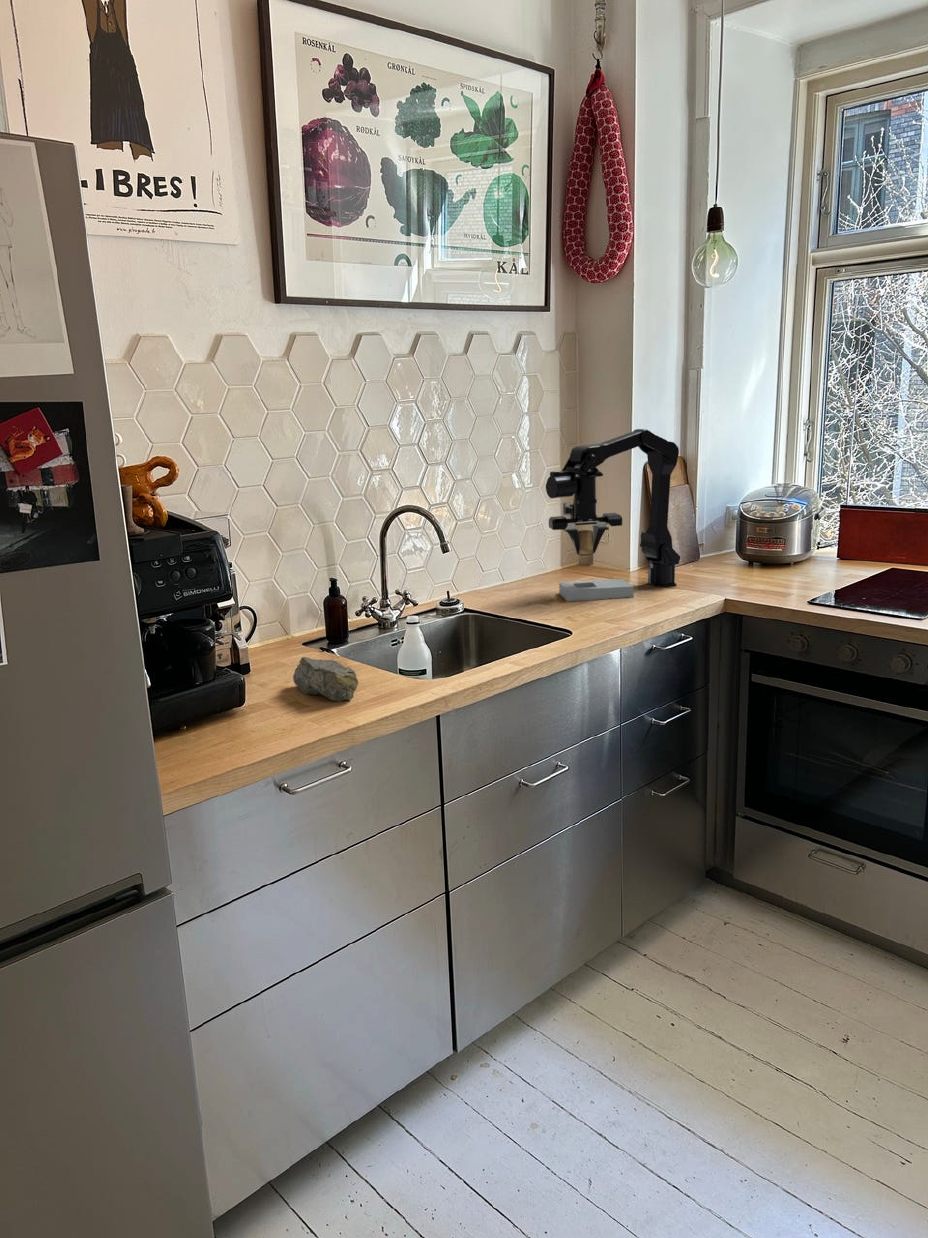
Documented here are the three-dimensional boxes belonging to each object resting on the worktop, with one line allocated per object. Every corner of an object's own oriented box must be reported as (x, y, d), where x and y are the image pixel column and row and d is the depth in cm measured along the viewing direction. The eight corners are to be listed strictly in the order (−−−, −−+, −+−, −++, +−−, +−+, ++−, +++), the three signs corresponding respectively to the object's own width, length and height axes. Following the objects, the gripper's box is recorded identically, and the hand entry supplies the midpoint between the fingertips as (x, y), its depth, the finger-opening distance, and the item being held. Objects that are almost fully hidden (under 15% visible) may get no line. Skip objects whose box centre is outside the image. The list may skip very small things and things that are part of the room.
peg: (591, 562, 240) (591, 529, 238) (595, 565, 236) (594, 531, 234) (576, 563, 239) (576, 530, 237) (580, 566, 236) (579, 532, 233)
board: (623, 589, 246) (623, 578, 246) (633, 597, 237) (633, 586, 236) (559, 593, 245) (559, 582, 244) (566, 601, 235) (566, 590, 235)
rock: (376, 671, 168) (337, 670, 160) (371, 706, 168) (331, 707, 161) (318, 653, 179) (278, 652, 171) (313, 686, 179) (273, 687, 172)
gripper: (611, 489, 242) (611, 546, 246) (543, 493, 240) (545, 550, 244) (622, 493, 231) (623, 553, 235) (552, 498, 229) (553, 557, 233)
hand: (585, 553), depth 237 cm, fingers closed on peg, 4 cm apart
